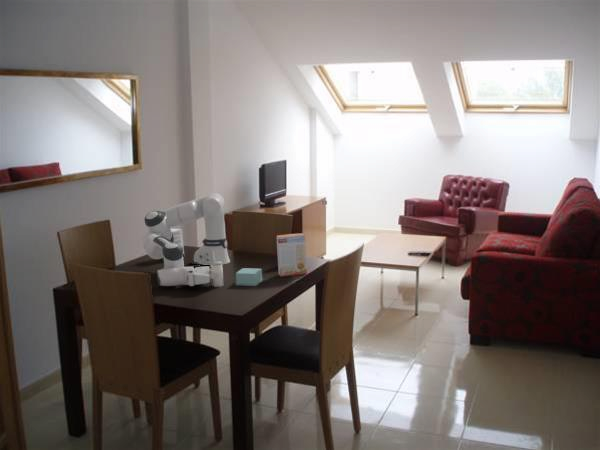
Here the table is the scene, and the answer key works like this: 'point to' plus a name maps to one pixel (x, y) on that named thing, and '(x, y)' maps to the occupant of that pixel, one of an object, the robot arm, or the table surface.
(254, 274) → the plinth
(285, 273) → the cracker box
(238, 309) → the table surface
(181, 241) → the white carton
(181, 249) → the robot arm
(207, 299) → the table surface
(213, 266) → the canister
